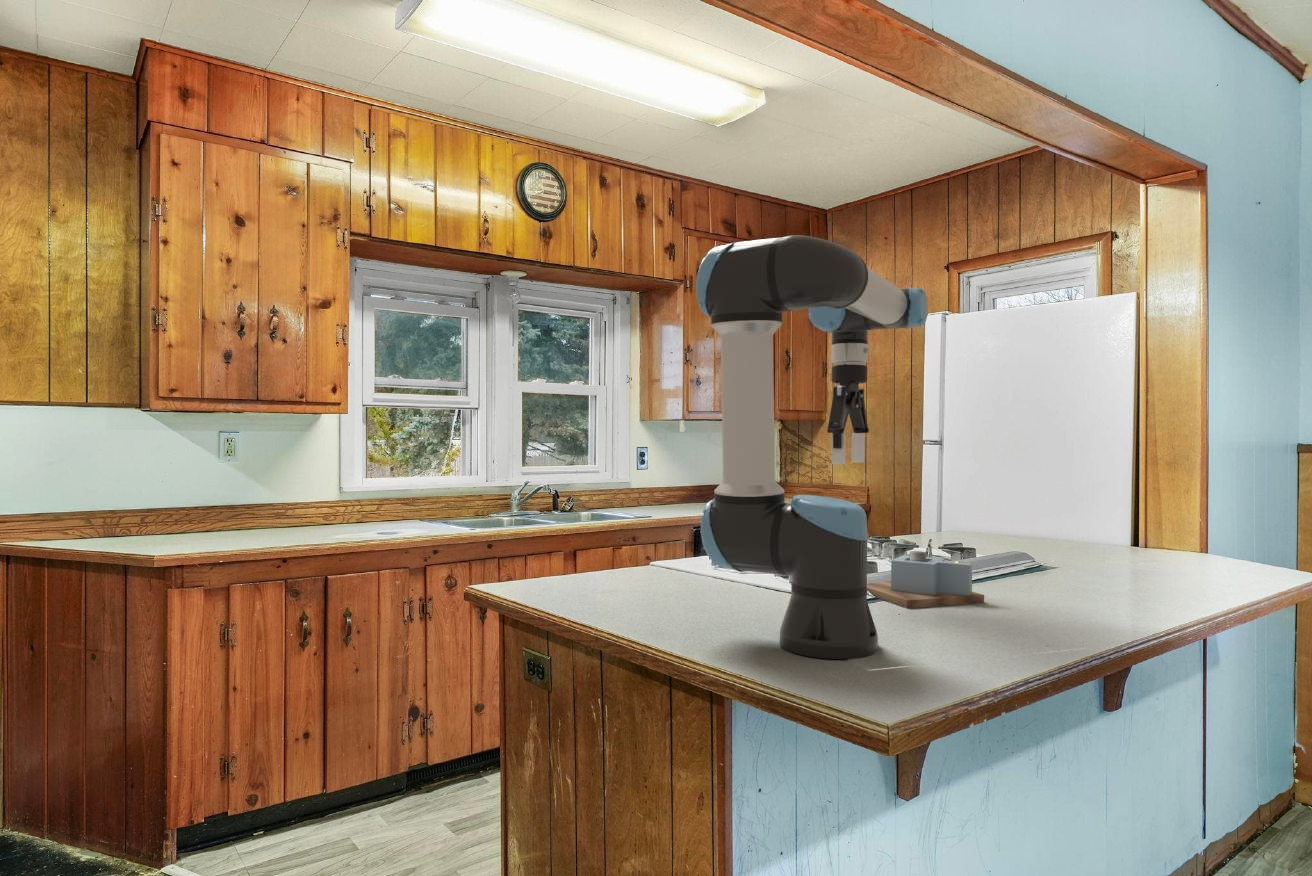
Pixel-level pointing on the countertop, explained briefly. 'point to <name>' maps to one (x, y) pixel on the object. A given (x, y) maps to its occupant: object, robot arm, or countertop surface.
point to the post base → (919, 599)
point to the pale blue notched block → (931, 576)
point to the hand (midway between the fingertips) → (848, 463)
